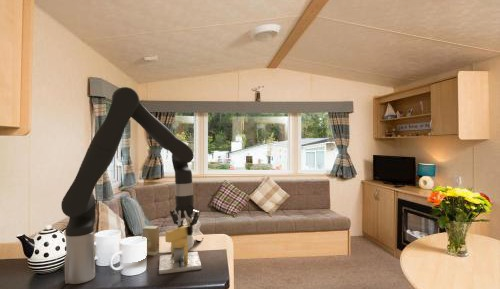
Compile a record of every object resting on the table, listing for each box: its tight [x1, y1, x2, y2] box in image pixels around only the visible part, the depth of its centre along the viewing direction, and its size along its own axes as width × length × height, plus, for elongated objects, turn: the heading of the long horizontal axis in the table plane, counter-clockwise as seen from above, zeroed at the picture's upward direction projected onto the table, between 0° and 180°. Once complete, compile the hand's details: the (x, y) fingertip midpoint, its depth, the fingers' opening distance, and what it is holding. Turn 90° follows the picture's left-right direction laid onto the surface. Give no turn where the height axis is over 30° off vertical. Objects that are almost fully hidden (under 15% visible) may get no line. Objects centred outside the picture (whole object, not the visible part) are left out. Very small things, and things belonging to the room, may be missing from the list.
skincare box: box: [142, 225, 160, 256], centre depth 140 cm, size 6×4×12 cm
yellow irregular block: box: [164, 224, 192, 248], centre depth 128 cm, size 12×6×7 cm, turn 145°
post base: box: [158, 244, 202, 275], centre depth 128 cm, size 16×16×10 cm
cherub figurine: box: [176, 216, 204, 251], centre depth 154 cm, size 13×12×20 cm
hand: (185, 234), depth 131 cm, fingers closed on yellow irregular block, 3 cm apart
